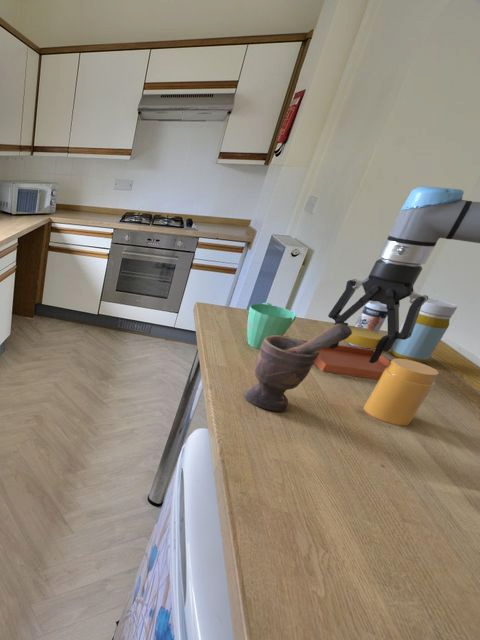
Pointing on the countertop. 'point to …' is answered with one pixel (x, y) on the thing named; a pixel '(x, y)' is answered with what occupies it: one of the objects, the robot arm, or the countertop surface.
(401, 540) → the countertop surface
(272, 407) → the mortar and pestle
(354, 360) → the tray
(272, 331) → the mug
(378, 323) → the beer can
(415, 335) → the bottle
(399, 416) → the jam jar
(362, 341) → the jar lid
